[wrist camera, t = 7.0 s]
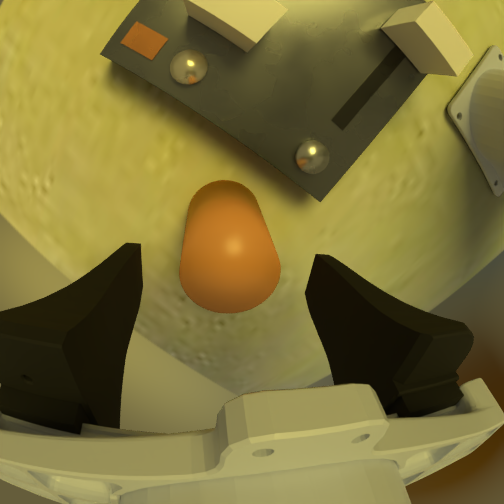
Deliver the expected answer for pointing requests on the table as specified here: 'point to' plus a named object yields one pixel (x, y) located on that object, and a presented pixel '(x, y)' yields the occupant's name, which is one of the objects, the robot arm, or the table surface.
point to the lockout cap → (227, 250)
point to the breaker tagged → (237, 18)
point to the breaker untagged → (428, 39)
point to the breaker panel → (280, 79)
